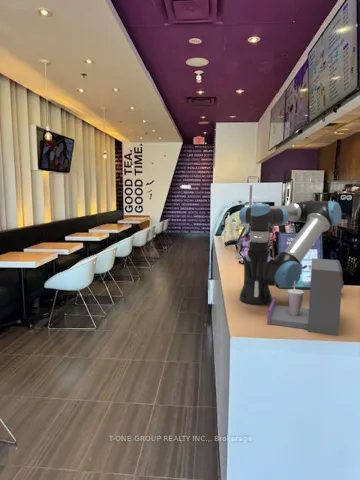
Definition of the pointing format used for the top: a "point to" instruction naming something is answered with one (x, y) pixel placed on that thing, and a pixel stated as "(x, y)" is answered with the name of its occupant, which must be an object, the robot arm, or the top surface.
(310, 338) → the top surface
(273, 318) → the sealer tray
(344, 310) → the top surface
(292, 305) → the smoothie
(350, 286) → the top surface
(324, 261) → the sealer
